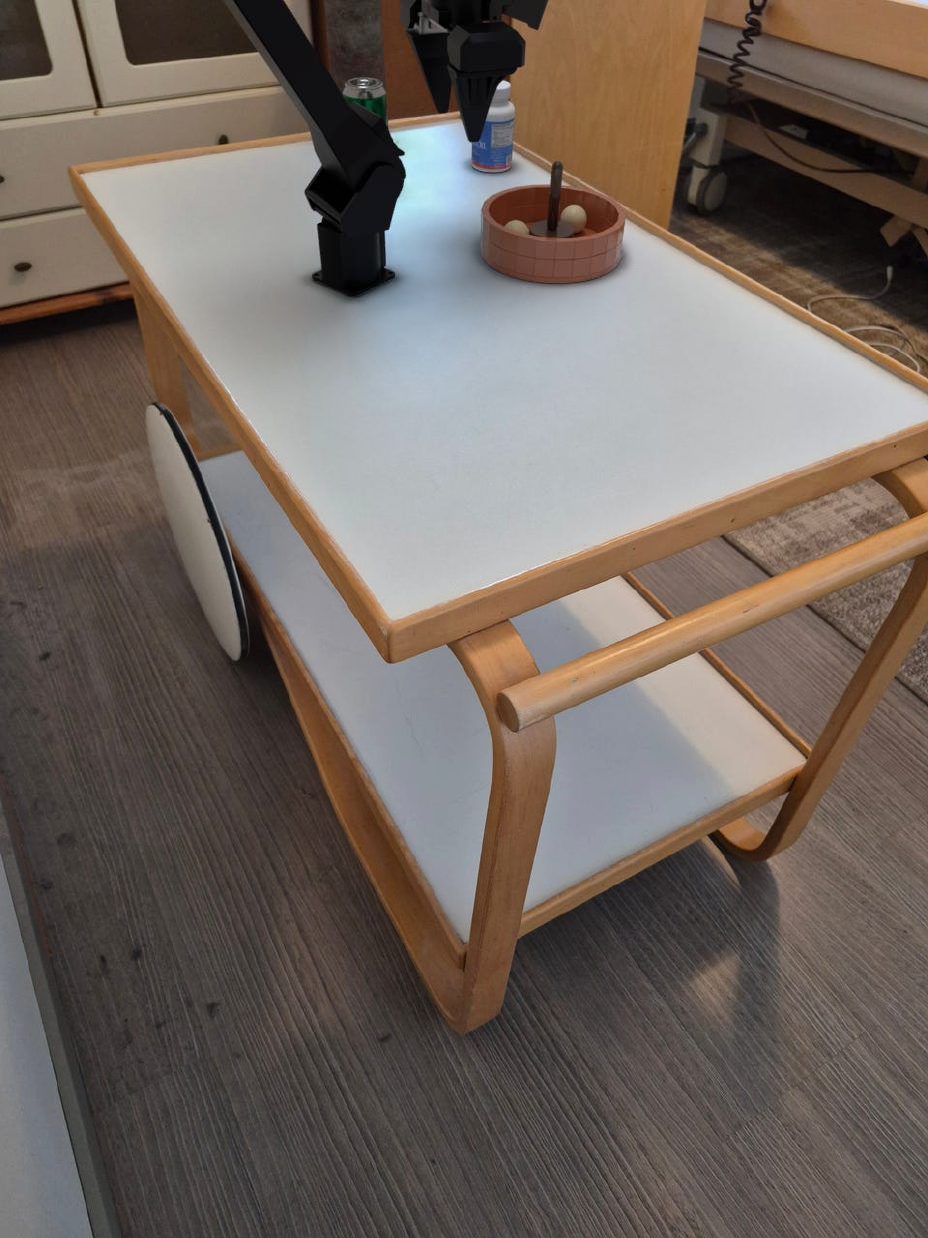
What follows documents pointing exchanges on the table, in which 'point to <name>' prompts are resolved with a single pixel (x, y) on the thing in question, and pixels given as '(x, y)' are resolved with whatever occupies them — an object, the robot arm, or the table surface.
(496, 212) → the bowl
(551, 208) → the brown peg stand
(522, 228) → the dumpling
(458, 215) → the table surface
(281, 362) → the table surface
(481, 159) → the pill bottle
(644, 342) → the table surface
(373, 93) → the soda can
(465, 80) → the robot arm
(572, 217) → the dumpling
